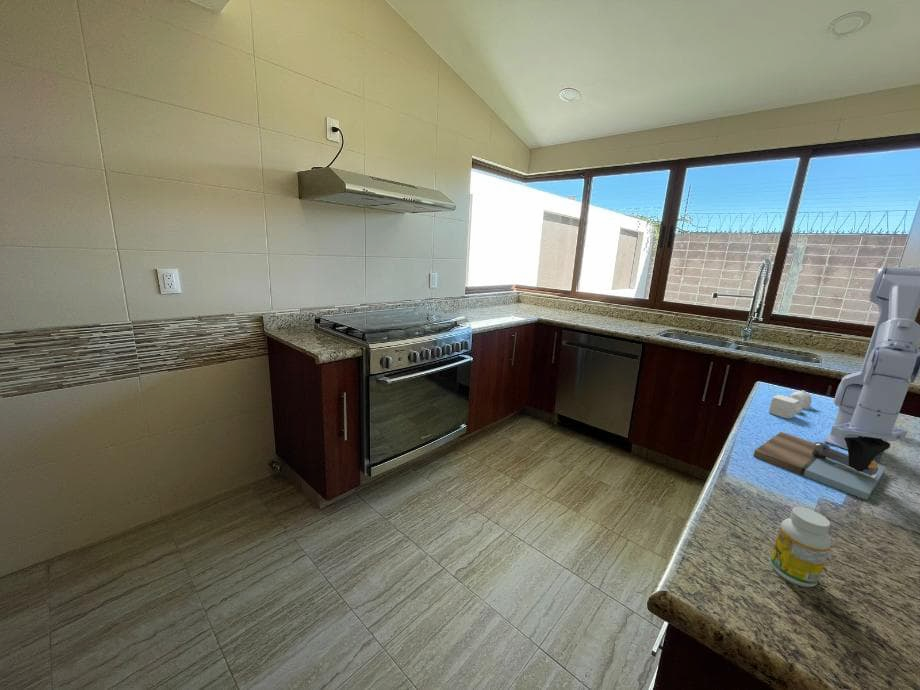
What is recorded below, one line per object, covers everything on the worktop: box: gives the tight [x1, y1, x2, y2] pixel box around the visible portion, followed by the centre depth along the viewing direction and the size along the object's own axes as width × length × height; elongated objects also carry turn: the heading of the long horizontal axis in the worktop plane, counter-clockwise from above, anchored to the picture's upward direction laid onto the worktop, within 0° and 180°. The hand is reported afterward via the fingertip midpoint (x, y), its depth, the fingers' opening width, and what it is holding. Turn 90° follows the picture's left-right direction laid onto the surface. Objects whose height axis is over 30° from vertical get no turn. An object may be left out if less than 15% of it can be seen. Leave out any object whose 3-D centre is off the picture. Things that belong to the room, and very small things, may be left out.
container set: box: [768, 389, 812, 420], centre depth 115 cm, size 20×5×6 cm, turn 123°
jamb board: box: [753, 431, 818, 476], centre depth 88 cm, size 18×9×2 cm, turn 125°
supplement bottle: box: [769, 506, 832, 588], centre depth 54 cm, size 5×5×10 cm
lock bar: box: [812, 441, 879, 476], centre depth 81 cm, size 10×2×3 cm, turn 22°
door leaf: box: [802, 447, 887, 501], centre depth 81 cm, size 18×10×2 cm, turn 125°
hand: (855, 468), depth 78 cm, fingers closed
